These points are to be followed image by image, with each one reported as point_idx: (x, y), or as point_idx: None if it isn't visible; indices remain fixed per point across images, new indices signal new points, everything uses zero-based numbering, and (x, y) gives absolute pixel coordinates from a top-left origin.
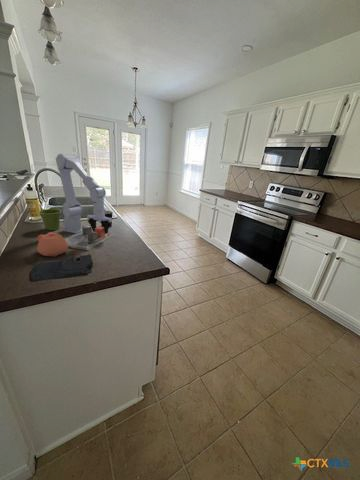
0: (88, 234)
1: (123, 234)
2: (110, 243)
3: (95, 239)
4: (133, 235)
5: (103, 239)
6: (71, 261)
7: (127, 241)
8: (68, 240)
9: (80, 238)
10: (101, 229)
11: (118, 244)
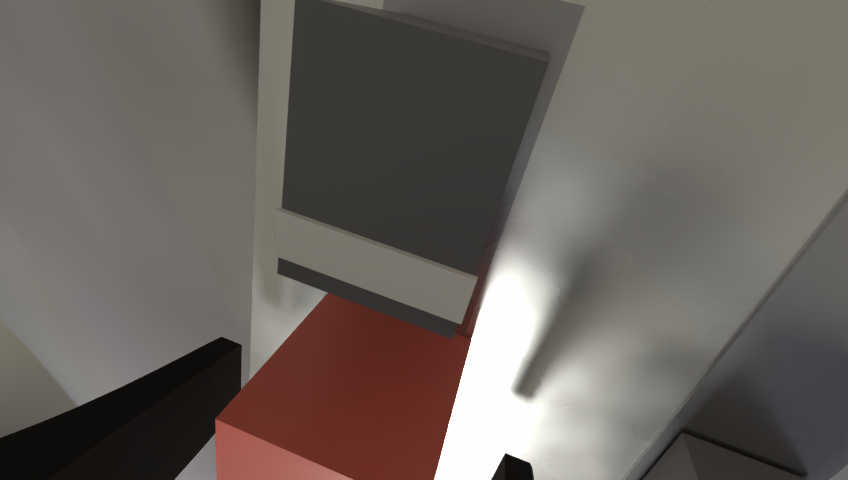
0: (504, 49)
1: None
2: (138, 92)
3: None
4: (82, 399)
5: (264, 193)
6: None
7: (8, 211)
8: None
9: (833, 152)
10: (224, 432)
11: (18, 69)
